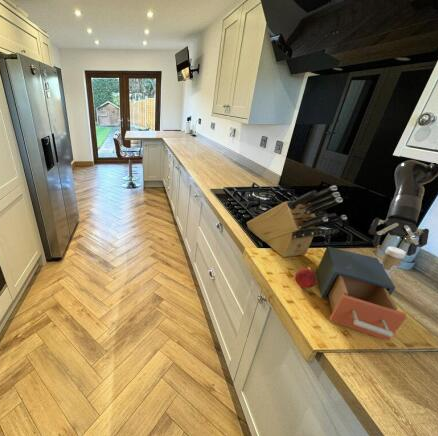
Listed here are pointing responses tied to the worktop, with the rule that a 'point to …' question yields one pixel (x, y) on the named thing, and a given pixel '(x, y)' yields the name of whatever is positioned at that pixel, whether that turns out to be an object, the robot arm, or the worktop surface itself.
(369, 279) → the cabinet
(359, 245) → the worktop surface
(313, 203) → the knife block
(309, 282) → the onion
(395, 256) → the sprinkles bottle
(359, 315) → the drawer
